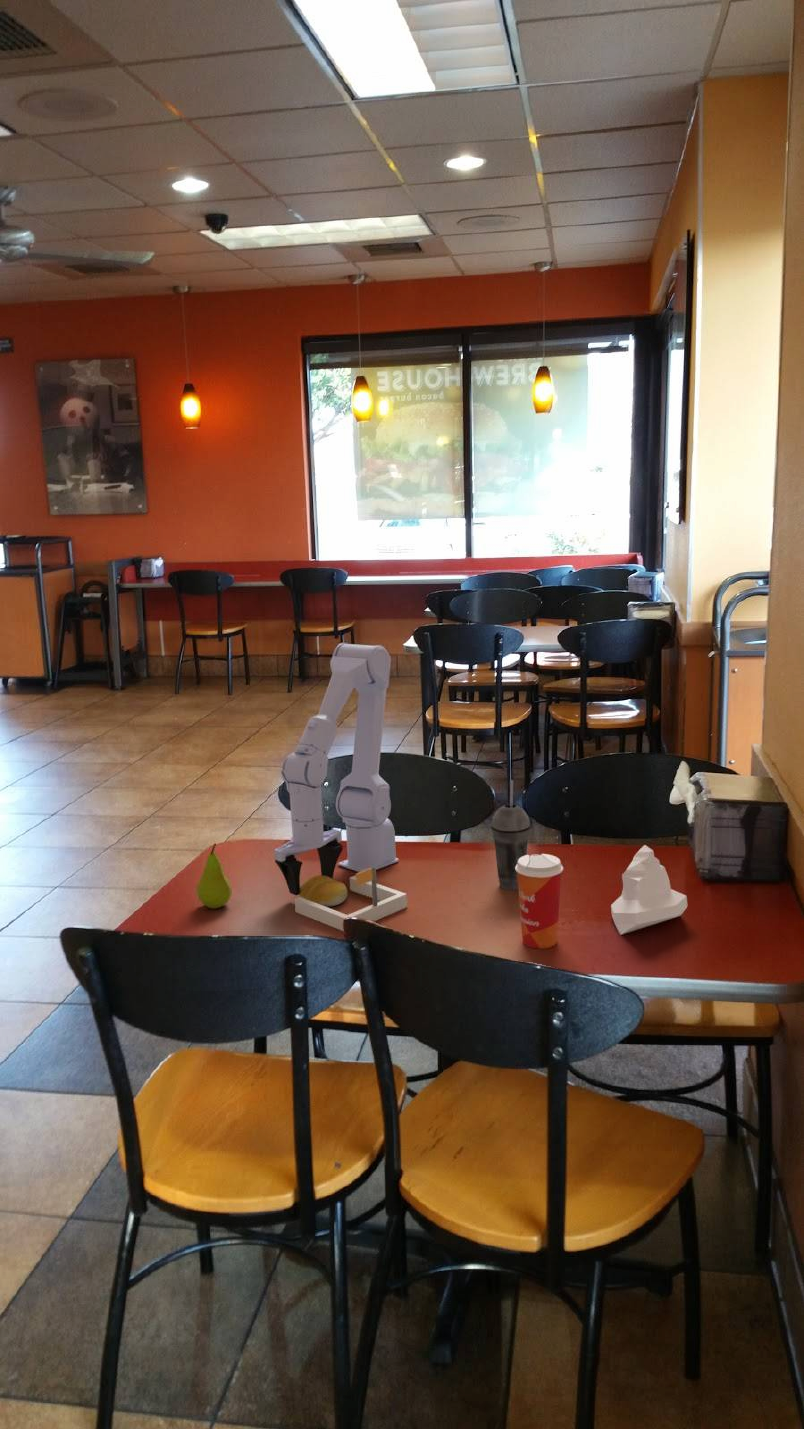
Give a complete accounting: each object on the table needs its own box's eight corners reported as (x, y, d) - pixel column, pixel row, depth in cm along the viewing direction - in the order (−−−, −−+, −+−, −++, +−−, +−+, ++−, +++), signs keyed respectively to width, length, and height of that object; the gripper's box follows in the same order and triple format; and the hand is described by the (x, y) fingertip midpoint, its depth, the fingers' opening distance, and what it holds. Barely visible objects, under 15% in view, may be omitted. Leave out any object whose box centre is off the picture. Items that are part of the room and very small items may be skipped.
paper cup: (512, 933, 178) (511, 853, 175) (557, 930, 178) (557, 850, 175) (521, 953, 170) (520, 871, 167) (568, 950, 171) (568, 867, 168)
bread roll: (321, 912, 189) (320, 891, 188) (292, 899, 196) (291, 878, 195) (358, 899, 194) (356, 878, 193) (328, 886, 201) (327, 866, 200)
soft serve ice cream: (588, 932, 180) (580, 848, 181) (654, 919, 188) (646, 838, 188) (638, 940, 170) (629, 850, 170) (706, 925, 177) (698, 840, 178)
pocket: (354, 888, 200) (352, 840, 198) (407, 906, 190) (405, 856, 188) (295, 911, 190) (292, 861, 188) (347, 932, 180) (344, 880, 178)
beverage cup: (487, 890, 196) (484, 786, 192) (498, 876, 203) (496, 775, 199) (525, 894, 194) (523, 789, 189) (535, 880, 200) (534, 778, 196)
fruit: (190, 907, 194) (185, 845, 191) (217, 897, 198) (212, 835, 196) (213, 916, 190) (208, 852, 187) (240, 904, 194) (235, 842, 191)
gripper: (322, 803, 202) (326, 871, 205) (261, 822, 192) (266, 893, 195) (347, 810, 197) (351, 879, 200) (286, 830, 187) (291, 903, 190)
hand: (311, 887), depth 197 cm, fingers open, 7 cm apart
